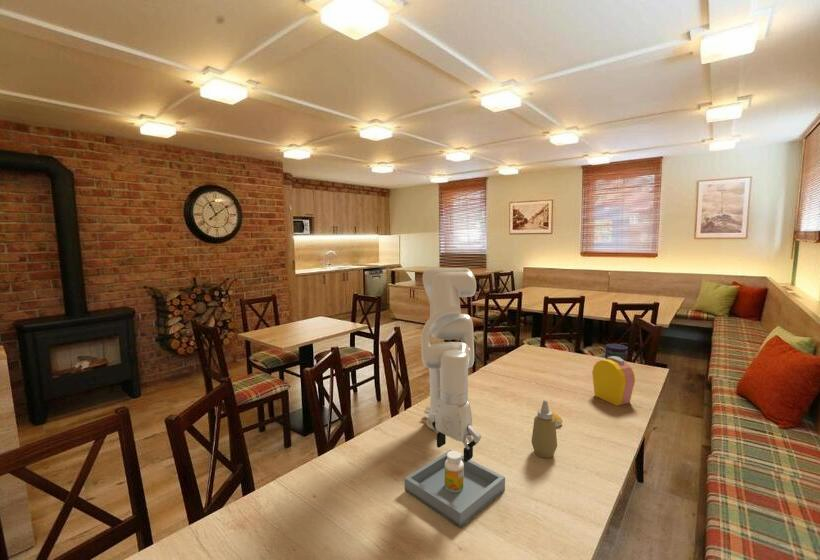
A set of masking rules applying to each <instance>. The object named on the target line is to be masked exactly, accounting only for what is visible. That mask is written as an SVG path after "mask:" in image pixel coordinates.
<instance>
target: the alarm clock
mask: <svg viewBox="0 0 820 560" xmlns="http://www.w3.org/2000/svg"><path fill="white" fill-rule="evenodd" d="M634 372H635V371H634V370H633V368H632V367H631V365H630V364H629V363H628V362H627V360H626V361H624V360H623V359H621V358H620V357H616V356H611V357H607V359H606V358H605V359H601V360H599V361H597V362H596V363H595V364H594V365H593V367H592V382H593V383H592V384H593V391H594V392H593V393H594V396H595V397H597V398H599V399H602V400H604V401H606V402H608V403H610V404H612V405H614V406H620V405H626V404H629V403H631V398H632V395H633V390H634V387H635V383H636V376H635V373H634Z"/></svg>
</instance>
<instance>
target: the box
mask: <svg viewBox="0 0 820 560" xmlns="http://www.w3.org/2000/svg"><path fill="white" fill-rule="evenodd" d="M450 451H452V450H451V449H449V450H448V451H446V452H445V453H443V454H441V455H439V456H438V457H437V458H435V459H433V460H432V461H430V462H427V463H426V464H425V465H424V466H422V467H420V468H419V469H417V470H416V471H414V472H412V473H410V474H408V475H407V476H405V477H404V492H405V491H406V493H407V494H408V493H409V495H410V496H412V497H413V498H414V499H416V500H417V501H418V502H419V501H420V503H422V504H424V505H425V506H427V507H428V508H430V509H431V510H432V511H434V512H435V513H437V514H439V515H440V516H441V517H443V518H444V519H446V520H448V521H449V522H450V523H452V524H453V525H455V526H457V528H459V529H461V528H463V527H464V526H466V525H467V524H468V522H470V521H471V520H472V519H473V518H474V517H476V516H477V515H478V514H479V513H480V512H482V511H483V510H484V509H485V508H486V507H487V506H488V505H489V504H491V503H492V502H493V501H494V500H495V499H497V498H498V497H499V496H500V495H501V494H503V492H504V493H505V491H506V477H505V476H504V475H502V474H500V473H498V472H496V471H494V470H492V469H489V468H487V467H486V466H484V465H481V464H479V463H477V462H475V461H474V460H472V459H470V460H469V461H467V462H464V455H462V454H461V460H462V462H463V464H464V487H463V489H462V490H461V491H460V492H450V491H448V490H447V489H446V488H445V461H446V460H447V453H448V452H450Z"/></svg>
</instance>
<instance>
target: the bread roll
mask: <svg viewBox="0 0 820 560" xmlns="http://www.w3.org/2000/svg"><path fill="white" fill-rule="evenodd" d="M552 413H553V415H552V417H553V418H554V419H555V424H556V428H559V427H560V426H562V423H563V419H562V417H561V416H560V415H558V414H557V413H556V412H554V411H552Z"/></svg>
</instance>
